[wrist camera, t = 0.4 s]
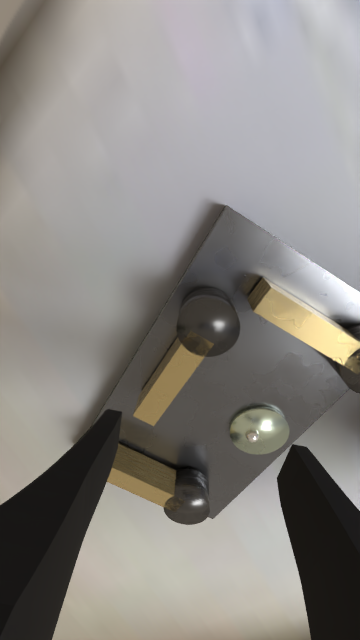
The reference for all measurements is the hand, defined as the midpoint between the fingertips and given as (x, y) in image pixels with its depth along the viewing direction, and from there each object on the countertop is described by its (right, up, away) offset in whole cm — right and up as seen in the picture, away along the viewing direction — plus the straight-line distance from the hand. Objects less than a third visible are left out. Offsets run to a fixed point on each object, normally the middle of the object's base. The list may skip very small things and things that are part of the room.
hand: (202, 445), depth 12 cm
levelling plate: (+2, 0, +10) cm, 11 cm away
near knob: (-1, +3, +7) cm, 8 cm away
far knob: (-3, -7, +12) cm, 14 cm away
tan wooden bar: (+8, +5, +6) cm, 11 cm away
